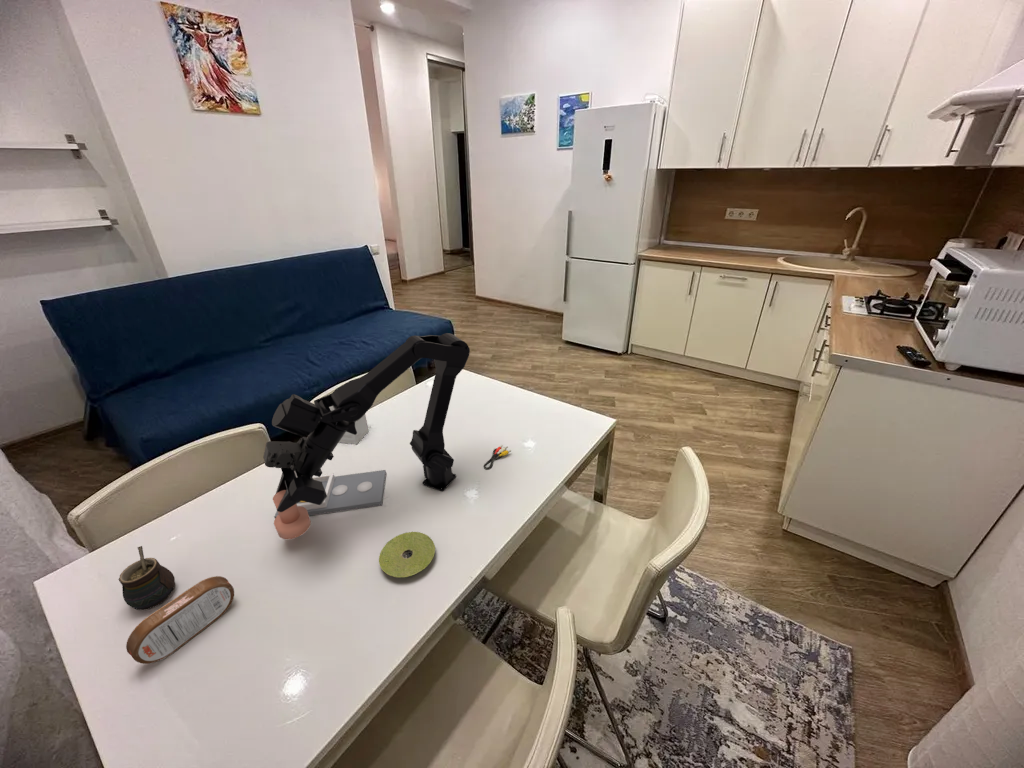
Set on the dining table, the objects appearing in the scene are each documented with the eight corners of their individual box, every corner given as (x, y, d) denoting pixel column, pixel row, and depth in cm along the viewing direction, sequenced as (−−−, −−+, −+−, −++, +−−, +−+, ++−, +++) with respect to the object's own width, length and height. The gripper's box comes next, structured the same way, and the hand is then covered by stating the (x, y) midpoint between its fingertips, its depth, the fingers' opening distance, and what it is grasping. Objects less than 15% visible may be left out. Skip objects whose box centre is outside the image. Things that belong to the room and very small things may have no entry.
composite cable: (488, 472, 109) (487, 465, 108) (475, 465, 111) (475, 457, 110) (512, 454, 115) (512, 447, 114) (499, 448, 118) (499, 441, 117)
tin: (234, 594, 78) (219, 565, 74) (243, 603, 76) (227, 573, 72) (139, 666, 67) (114, 635, 63) (146, 677, 65) (122, 647, 61)
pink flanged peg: (317, 521, 88) (306, 490, 84) (292, 543, 83) (279, 511, 79) (297, 512, 91) (285, 481, 87) (271, 533, 86) (257, 501, 82)
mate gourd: (130, 624, 73) (102, 587, 69) (134, 593, 79) (109, 557, 74) (179, 601, 77) (156, 565, 72) (179, 573, 82) (158, 538, 78)
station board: (386, 473, 109) (384, 465, 107) (381, 505, 98) (379, 496, 97) (290, 486, 105) (287, 477, 104) (275, 520, 94) (272, 511, 93)
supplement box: (357, 445, 120) (348, 408, 115) (335, 442, 122) (325, 406, 116) (369, 431, 127) (362, 396, 121) (348, 429, 128) (339, 394, 122)
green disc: (372, 555, 85) (370, 549, 84) (421, 529, 91) (420, 523, 90) (393, 594, 77) (391, 587, 76) (445, 563, 83) (444, 556, 82)
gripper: (276, 408, 85) (233, 470, 85) (291, 452, 71) (239, 526, 71) (324, 427, 92) (285, 484, 92) (346, 470, 79) (300, 537, 78)
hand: (277, 505), depth 83 cm, fingers closed on pink flanged peg, 4 cm apart
